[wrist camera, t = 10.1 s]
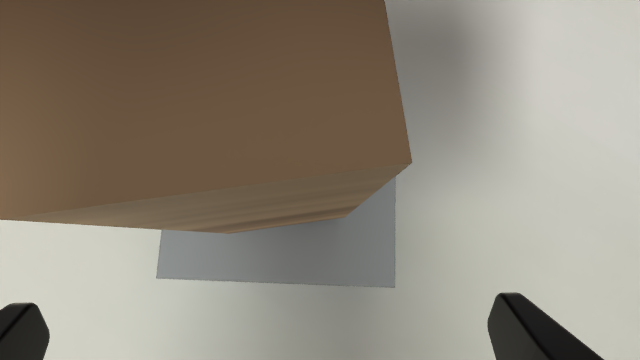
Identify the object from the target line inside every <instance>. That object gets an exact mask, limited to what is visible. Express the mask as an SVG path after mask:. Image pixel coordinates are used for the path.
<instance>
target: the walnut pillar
mask: <svg viewBox="0 0 640 360" xmlns="http://www.w3.org/2000/svg"><path fill="white" fill-rule="evenodd" d="M411 163H412V159H411V153H410V147H409V142H408V136H407V130H406V124H405V118H404V112H403V107H402V101H401V95H400V89H399V83H398V77H397V72H396V66H395V60H394V54H393V48H392V42H391V37H390V31H389V25H388V19H387V13H386V7H385V2H384V0H0V219H1V220H17V221H33V222H49V223H65V224H81V225H97V226H113V227H129V228H145V229H161V230H177V231H193V232H209V233H225V234H230V233H237V232H244V231H252V230H259V229H266V228H273V227H280V226H287V225H294V224H302V223H309V222H316V221H323V220H330V219H337V218H344V217H346V216H347V215H348V214H349V213H351V212H352V211H353V210H354V209H355V208H357V207H358V206H359V205H360V204H362V203H363V202H364V201H365V200H367V199H368V198H369V197H370V196H371V195H373V194H374V193H375V192H376V191H378V190H379V189H380V188H381V187H383V186H384V185H385V184H386V183H388V182H389V181H390V180H391V179H392V178H394V177H395V176H396V175H397V174H399V173H400V172H401V171H402V170H404V169H405V168H406V167H407V166H408V165H410V164H411Z"/></svg>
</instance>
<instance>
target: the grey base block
mask: <svg viewBox="0 0 640 360" xmlns="http://www.w3.org/2000/svg"><path fill="white" fill-rule="evenodd" d="M156 278H158V279H184V280H210V281H236V282H261V283H287V284H313V285H339V286H364V287H390V288H395V177H394V178H392V179H391V180H390V181H389V182H388V183H386V184H385V185H384V186H383V187H381V188H380V189H379V190H378V191H376V192H375V193H374V194H373V195H371V196H370V197H369V198H368V199H367V200H365V201H364V202H363V203H362V204H360V205H359V206H358V207H357V208H355V209H354V210H353V211H352V212H351V213H349V214H348V215H347V216H346V217H344V218H337V219H330V220H323V221H316V222H309V223H302V224H294V225H287V226H280V227H273V228H266V229H259V230H252V231H244V232H237V233H230V234H225V233H209V232H193V231H177V230H162V232H161V241H160V249H159V258H158V267H157V276H156Z"/></svg>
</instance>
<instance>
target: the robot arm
mask: <svg viewBox="0 0 640 360" xmlns="http://www.w3.org/2000/svg"><path fill="white" fill-rule="evenodd" d="M488 332H489V335H490V339H491V343H492V346H493V350H494V353H495V357H496V360H604V359H603V358H601V357H600V356H599V355H598V354H596V353H595V352H594V351H593V350H591V349H590V348H589V347H588V346H586V345H585V344H584V343H582V342H581V341H580V340H579V339H577V338H576V337H575V336H574V335H572V334H571V333H570V332H569V331H567V330H566V329H565V328H564V327H562V326H561V325H560V324H558V323H557V322H556V321H555V320H553V319H552V318H551V317H550V316H548V315H547V314H546V313H545V312H543V311H542V310H541V309H540V308H538V307H537V306H536V305H535V304H533V303H532V302H531V301H529V300H528V299H527V298H526V297H524V296H523V295H522V294H520V293H499V294H498V295H497V296H496V298H495V301H494V304H493V307H492V309H491V312H490V315H489V318H488ZM49 338H50V334H49V329H48V327H47V325H46V323H45V320H44V318H43V316H42V314H41V312H40V310H39V308H38V306H37V305H36V304H34V303H12V304H9V305H7V306H6V307H4V308H3V309H1V310H0V360H43V358H44V355H45V352H46V349H47V346H48V343H49Z"/></svg>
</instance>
